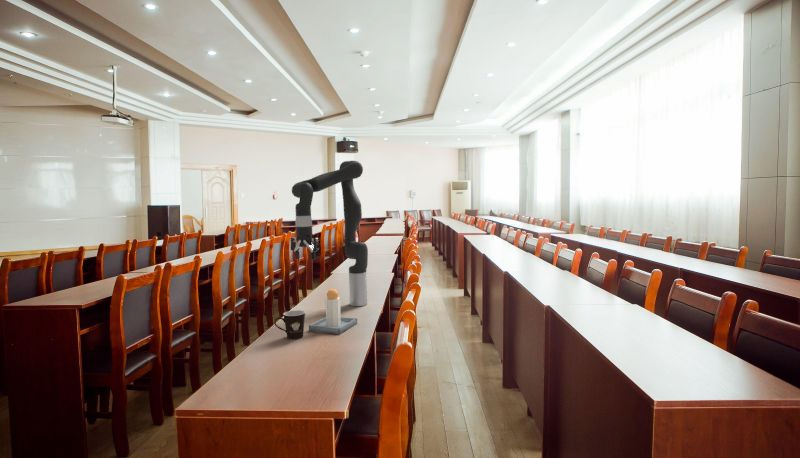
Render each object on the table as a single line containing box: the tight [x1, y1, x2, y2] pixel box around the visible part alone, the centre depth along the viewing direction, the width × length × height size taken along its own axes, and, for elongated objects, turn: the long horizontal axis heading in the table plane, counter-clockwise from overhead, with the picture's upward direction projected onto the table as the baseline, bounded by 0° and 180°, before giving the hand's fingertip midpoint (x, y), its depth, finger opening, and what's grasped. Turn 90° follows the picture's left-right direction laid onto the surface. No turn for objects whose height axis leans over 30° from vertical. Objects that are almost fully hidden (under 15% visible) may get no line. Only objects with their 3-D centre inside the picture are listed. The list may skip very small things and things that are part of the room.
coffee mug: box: [274, 309, 306, 340], centre depth 181 cm, size 12×9×10 cm
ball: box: [326, 288, 339, 299], centre depth 192 cm, size 5×5×5 cm
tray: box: [308, 316, 358, 335], centre depth 193 cm, size 16×15×2 cm
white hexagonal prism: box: [324, 296, 342, 327], centre depth 193 cm, size 6×6×12 cm
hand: (305, 259), depth 208 cm, fingers open, 8 cm apart
